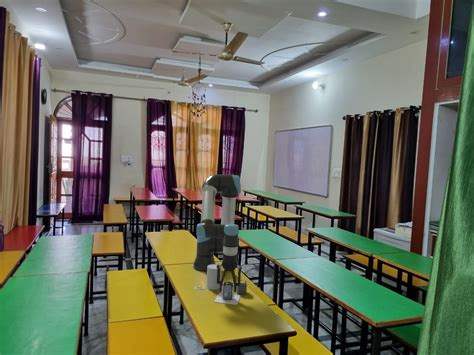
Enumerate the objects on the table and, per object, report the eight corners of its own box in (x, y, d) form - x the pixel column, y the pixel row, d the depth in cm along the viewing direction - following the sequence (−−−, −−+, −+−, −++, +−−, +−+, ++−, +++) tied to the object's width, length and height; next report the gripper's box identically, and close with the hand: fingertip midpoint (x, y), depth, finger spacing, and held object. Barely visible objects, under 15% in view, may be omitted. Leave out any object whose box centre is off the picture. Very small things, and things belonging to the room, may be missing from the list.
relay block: (236, 291, 191) (237, 280, 190) (245, 291, 191) (246, 280, 191) (237, 294, 186) (237, 283, 185) (246, 295, 186) (246, 283, 186)
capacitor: (222, 299, 177) (223, 284, 176) (223, 296, 182) (224, 280, 181) (231, 300, 176) (232, 285, 176) (233, 297, 181) (233, 281, 181)
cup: (218, 290, 190) (219, 269, 189) (204, 288, 191) (205, 268, 191) (222, 285, 198) (223, 265, 197) (208, 283, 199) (209, 263, 199)
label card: (195, 286, 194) (195, 286, 194) (204, 287, 193) (204, 287, 193) (194, 288, 191) (194, 288, 191) (203, 289, 190) (203, 289, 190)
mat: (218, 293, 186) (218, 292, 186) (240, 295, 184) (240, 295, 184) (214, 302, 174) (214, 301, 174) (237, 304, 172) (237, 304, 172)
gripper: (211, 254, 175) (209, 298, 176) (246, 257, 173) (243, 302, 174) (214, 250, 183) (212, 292, 184) (247, 253, 180) (245, 296, 181)
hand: (227, 297), depth 179 cm, fingers closed on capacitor, 5 cm apart
